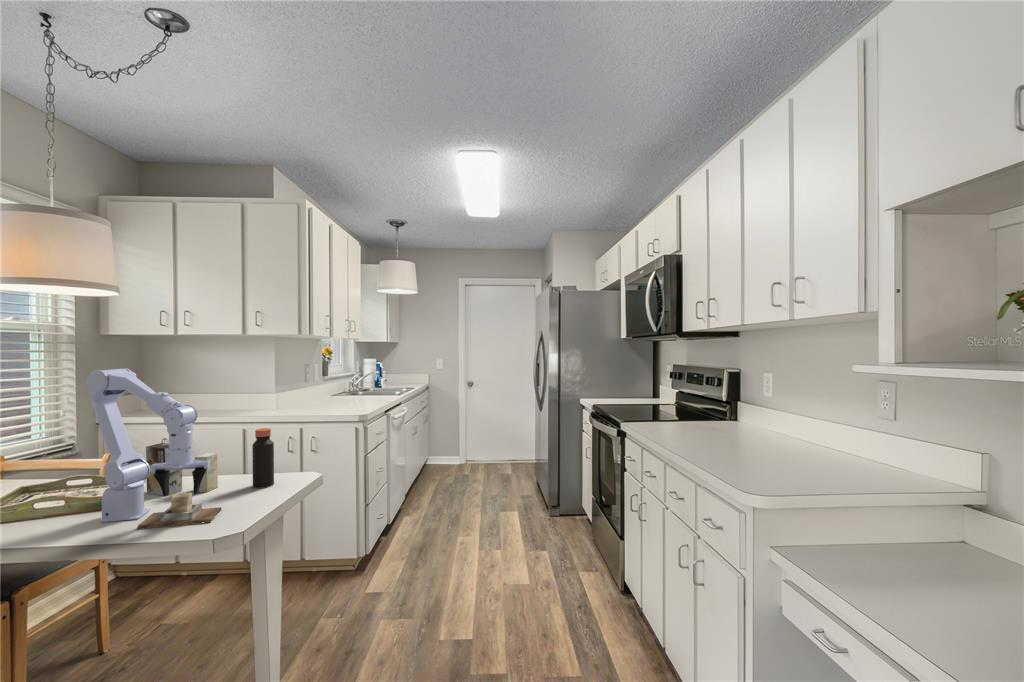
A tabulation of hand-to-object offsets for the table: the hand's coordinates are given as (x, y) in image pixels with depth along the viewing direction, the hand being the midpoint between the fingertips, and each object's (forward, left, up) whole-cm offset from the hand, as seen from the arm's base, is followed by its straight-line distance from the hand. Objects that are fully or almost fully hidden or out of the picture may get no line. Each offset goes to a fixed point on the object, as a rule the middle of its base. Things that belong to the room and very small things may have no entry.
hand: (181, 494), depth 145 cm
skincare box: (-2, +29, -8) cm, 30 cm away
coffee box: (-15, +30, -8) cm, 34 cm away
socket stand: (0, 0, -7) cm, 7 cm away
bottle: (+16, +29, -8) cm, 34 cm away
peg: (0, 0, -6) cm, 6 cm away
